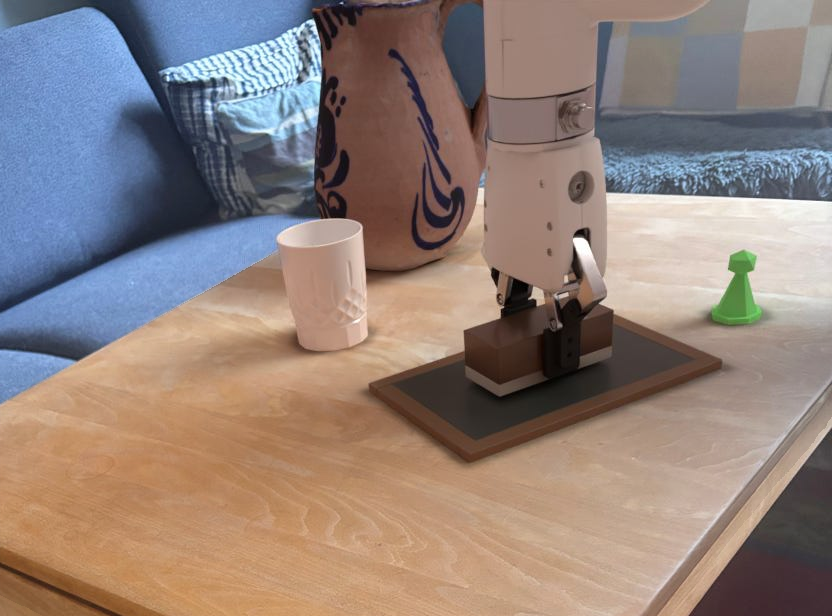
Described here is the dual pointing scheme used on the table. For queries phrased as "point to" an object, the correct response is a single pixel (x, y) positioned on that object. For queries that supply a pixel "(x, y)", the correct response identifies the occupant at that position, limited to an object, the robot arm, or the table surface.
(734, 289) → the game piece
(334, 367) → the table surface
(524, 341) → the eraser
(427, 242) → the ceramic pitcher
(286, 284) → the white cup
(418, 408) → the slate board
